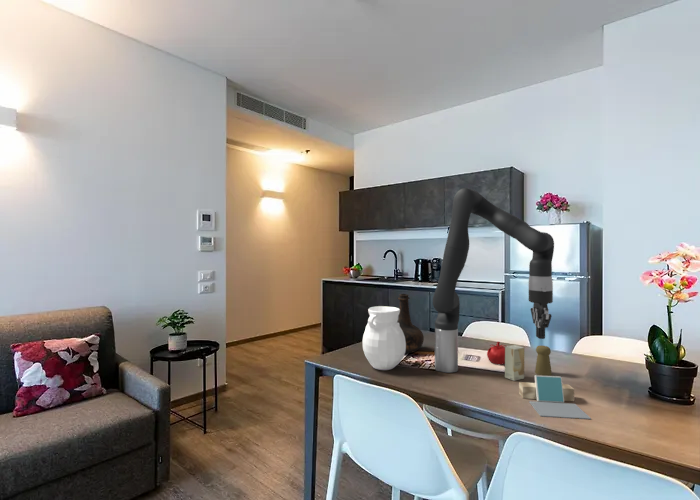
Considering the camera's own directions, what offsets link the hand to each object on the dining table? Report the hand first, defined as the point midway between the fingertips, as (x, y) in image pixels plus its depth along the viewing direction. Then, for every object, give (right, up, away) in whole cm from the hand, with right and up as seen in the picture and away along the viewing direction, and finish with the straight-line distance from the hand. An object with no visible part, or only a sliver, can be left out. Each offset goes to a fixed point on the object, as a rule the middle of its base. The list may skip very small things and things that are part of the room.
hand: (540, 337), depth 126 cm
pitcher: (-52, -19, +28) cm, 62 cm away
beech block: (-1, -19, -5) cm, 20 cm away
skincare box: (-3, -19, +13) cm, 23 cm away
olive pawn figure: (+11, -19, +18) cm, 29 cm away
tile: (-1, -19, -7) cm, 20 cm away
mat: (-2, -19, -14) cm, 24 cm away
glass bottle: (-40, -19, +51) cm, 68 cm away
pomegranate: (-1, -19, +32) cm, 37 cm away
